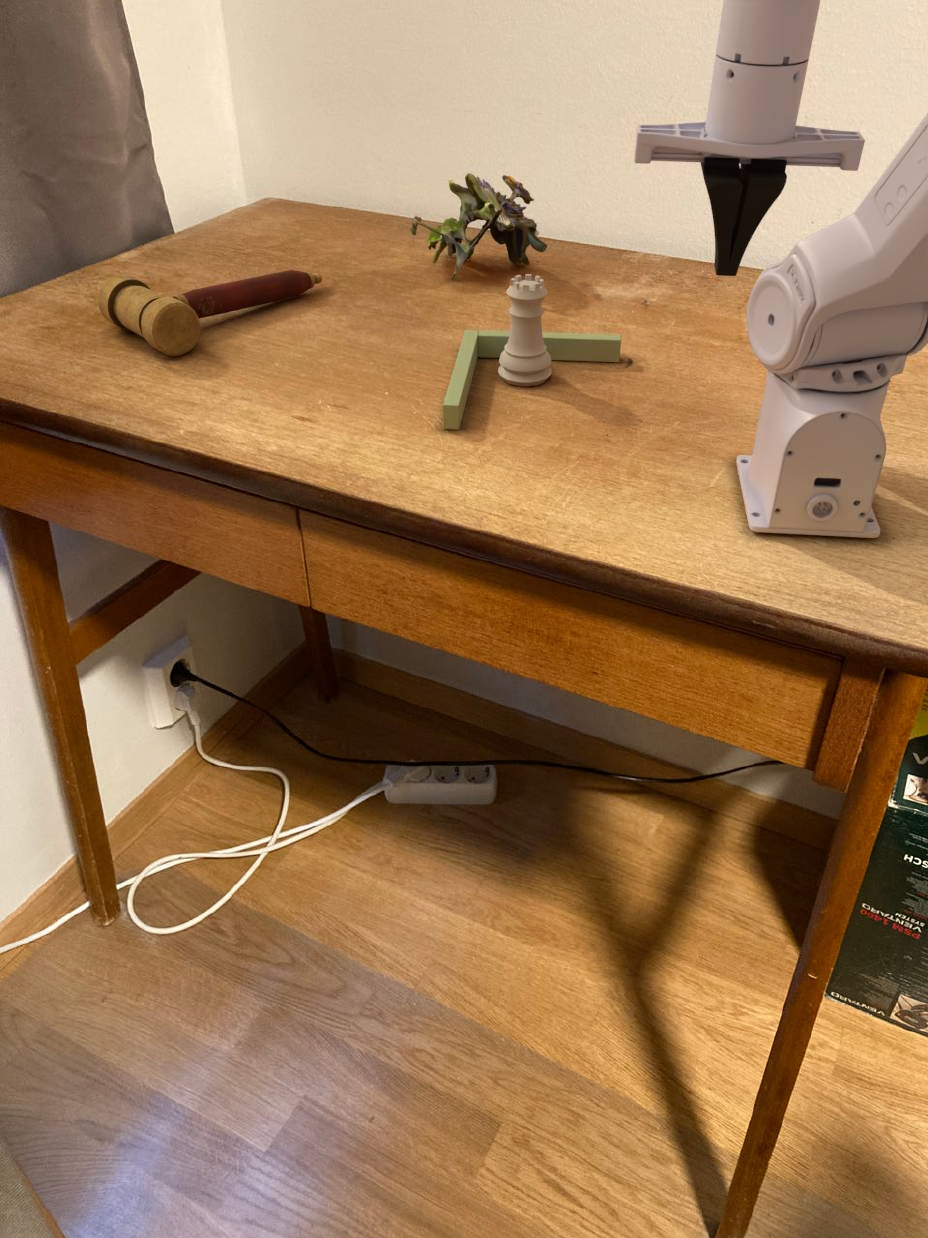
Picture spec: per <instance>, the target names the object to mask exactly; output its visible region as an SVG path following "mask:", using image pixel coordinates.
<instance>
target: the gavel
mask: <svg viewBox="0 0 928 1238" xmlns="http://www.w3.org/2000/svg"><path fill="white" fill-rule="evenodd" d="M322 282H323V276H322V274H321V273H318V272H316V273H311V272H310V271H301V270H296V269H288V270H284V271H279V272H274V273H273V272H272V273H269V274H263V275H259V276H254V277H248V278H245V279H239V280H233V281H229V282H224V283H220V284H215V285H209V286H205V287H200V288H195V289H191V290H189V291H186V292H184V293H181V294H177V295H174V296H163V295H162V294H160V293H157V292H155V291H153V290H151V288H150V287H149V286H148V285H147V284H146V283H145V282H144V281H142V280H139V279H137V278H136V277H134V276H131V275H128V274H124V273H123V274H116V275H113V276H111V277H109V278H108V279H107V280H106V281H105V282H104V283H103V284H102V286H101V287H100V290H99V292H98V298H97V301H98V308H99V311H100V312H101V315H102V317H103V318H104V319H105V320H106V321H107V322H109V323H110V324H112V325H113V326H115V327H117V328H119V329H121V330H124V331H126V332H132V333H135V334H137V335H138V336H140V337H142V338H144V340H145V341H146V343H147V344H148V345H149V346H151V347H152V348H154V349H156V350H157V351H159V352H161V353H163V354H165V355H166V356H169V357H178V356H182V355H185V354H187V353H188V352H190V351H191V350H192V349H193V348H194V346H196V344H197V342H198V340H199V337H200V334H201V322H200V319H204V318H210V317H214V316H219V315H222V314H227V313H231V312H236V311H240V310H245V309H250V308H254V307H259V306H263V305H267V304H272V303H276V302H281V301H285V300H289V299H294V298H295V299H296V298H298V297H300V296H302V295H303V294H305V293H306V292H307V291H309V290H311V289H313V288H314V287H315V286H316V285H319V284H321V283H322Z"/></svg>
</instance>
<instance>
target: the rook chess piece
mask: <svg viewBox="0 0 928 1238" xmlns="http://www.w3.org/2000/svg"><path fill="white" fill-rule="evenodd" d="M532 278H533V274H532V273H525V278H524V279H522V275H521V274H517V275H514V277H511V279H510V285H509V287H508V288H507V289H506V292H505V293H506V295H507V296H508V298H509V299H510V301H511V306H510V308H509V309H508V313H509V314H510V328H509V331H510V334H509V339H508V343H507V344H506V345H505V347H504V349H505V350H504V351H503V352H502V353H501V355H500V358H498V363H499V364H500V366H499V367H498V369H497V373H498V375H499V376H500V377H501V378H502V380H503V381H504V382H506V383H507V384H509V385H513V386H517V387H533V386H538V385H541V384H543V383H545V382H546V381H547V380H548V379H549V378H550V377H551V375H552V373H553V370H552V368H551V367H550V366H551V365H552V360H551V356H550V354H549V353H548V352H547V351H546V348H547V347H546V345H545V344H544V341H543V335H542V332H543V326H542V325H543V324H542V316H543V315H544V314H545V309H544V307H543V306H542V303H543V300H544V299H545V298H546V297H547V295H548V293H549V290H548V289H547V287H546V286H545V285H544V280H545V279H544V278H542V276H540V275H535V276H534V280H533V279H532Z"/></svg>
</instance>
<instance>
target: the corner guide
mask: <svg viewBox="0 0 928 1238" xmlns="http://www.w3.org/2000/svg"><path fill="white" fill-rule="evenodd" d="M509 334H510V330H486V329H480V330H479V329H465V330H464V333H463V336H462V340H461V342H460V346H459V350H458V352H457V355H456V360H455V363H454V366H453V370H452V372H451V377H450V380H449V383H448V386H447V390H446V393H445V396H444V399H443V403H442V421H443V423H442V426H443V430H455V431H456V430H460V427H461V423H462V420H463V415H464V412H465V409H466V404H467V400H468V396H469V393H470V389H471V385H472V381H473V377H474V373H475V370H476V366H477V361H478V358H483V359H485V358H489V359H500V355H501V353H502V352H503V351H504V350H505V349H504V347H505V345H506V344H507V343H508V339H509ZM542 335H543V341H544V344H545V345H546V347H547V348H546V351H547V352H548V353H549V354H550V356H551V361H571V362H572V361H573V362H596V363H597V362H599V363H620V358H621V349H622V348H621V346H622V335H621V334H611V333H610V334H608V333H577V332H576V333H575V332H574V333H573V332H547V331H546V332H545V331H542Z"/></svg>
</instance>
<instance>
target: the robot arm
mask: <svg viewBox="0 0 928 1238" xmlns="http://www.w3.org/2000/svg"><path fill="white" fill-rule="evenodd" d="M820 5H821V0H723V2H722V8H721V14H720V22H719V29H718V35H717V36H718V37H717V41H716V48H715V56H714V63H713V64H714V65H713V70H712V77H711V82H710V90H709V98H708V103H707V112H706V117H705V118H706V119H705V121H697V122H696V121H695V122H683V123H681V122H680V123H668V124H667V123H665V124H637V125H636V133H635V140H634V141H635V142H634V149H633V151H634V152H633V161H634V163H635V164H645V165H646V164H651V163H652V162H678V163H700V167H701V171H702V177H703V181H704V185H705V187H706V191H707V196H708V199H709V202H710V203H709V204H710V209H711V214H712V215H711V216H712V222H713V230H714V231H713V232H714V249H715V250H714V272H715V276H721V277H722V276H723V277H737V275H738V271H739V268H740V265H741V262H742V260H743V257H744V255H745V252H746V251H747V248H748V246H749V244H750V242H751V240H752V239H753V238H752V237H753V236H754V235H755V232H756V230H757V229H758V227H759V225H760V224H761V222H762V221H763V219H764V217H765V216H766V214H767V213H768V212H769V210H770V209H771V207H772V206H773V205H774V203H775V202H776V201H777V200H778V198H779V197H780V195H781V194H782V193H783V190H784V188H785V186H786V183H787V179H788V175H787V173H786V168H787V166H792V167H793V166H794V167H795V166H796V167H819V168H820V167H826V168H839V169H840V170H841V171H847V172H848V171H850V172H858V171H859V168H860V163H861V159H862V155H863V151H864V147H865V143H866V139H865V138H864V136H863V135H862V134H861V132H860V131H852V130H851V131H850V130H839V129H828V128H819V127H813V126H804V125H803V126H802V125H797V121H798V116H799V111H800V106H801V101H802V96H803V91H804V86H805V80H806V76H807V75H806V74H807V71H808V65H809V62H810V61H809V60H810V56H811V50H812V46H813V41H814V35H815V29H816V24H817V20H818V15H819V10H820ZM746 330H747V336H748V340H749V344H750V346H751V349H752V351H753V354H754V355H755V357H756V358H757V360H758V361H759V363H760V364H761V365H762V366H763V368H765V369H766V370H767V373H766V378H765V384H764V389H763V393H762V400H761V404H760V405H761V406H760V409H759V410H760V411H759V416H758V421H757V426H756V432H755V438H754V443H753V448H752V454H739V455H738V456H736V458H735V459H736V460H735V464H736V469H737V473H738V479H739V480H738V481H739V483H740V485H739V486H740V488H741V494H742V499H743V505H744V509H745V514H746V518H747V524H748V528H749V529H750V530H751V532H755V533H768V534H769V533H770V534H786V535H803V536H805V535H806V536H824V537H825V536H826V537H828V536H829V537H843V538H844V537H845V538H864V539H865V538H866V539H876V538H879V537H880V534H881V527H880V525H879V523H878V520H877V518H876V515H875V512H874V510H873V507H872V506H873V502H874V498H875V494H876V491H877V489H878V488H877V487H878V484H879V480H880V478H881V477H880V476H881V473H882V470H883V466H884V463H885V460H886V459H885V458H886V454H887V439H886V433H885V431H884V428H883V427H884V426H883V424H882V418H881V417H882V412H883V408H884V404H885V401H886V397H887V393H888V390H889V386H890V382H891V378H893V377H894V376H898V375H902V374H903V373H904V369H905V365H906V362H907V358H908V357H911V356H912V355H916V354H917V353H919V352H920V351H922V350H923V349H924V348H925V347H926V346H927V345H928V112H927V113H926V114H925V115H924V117H923V118H922V119H921V121H920V123H919V124H918V125H917V127H916V128H915V129H914V130H913V131H912V133H911V134H910V136H909V137H908V138H907V140H906V141H905V142H904V144H903V146H902V147H901V148H900V149H899V151H898V152H897V154H895V156H894V158H893V159H892V160H891V162H890V163H889V164H888V166H887V167H886V168H885V170H884V171H883V173H882V174H881V175H880V177H879V178H878V179H877V180H876V182H875V183H874V185H873V186H872V188H870V190H869V192H868V193H866V196H865V197H864V198H863V200H862V201H861V202H860V204H859V205H858V206H857V208H856V209H855V211H854V212H853V213H851V214H849V215H848V216H846V217H843V218H842V219H839V220H837V221H835V222H834V223H832V224H830V225H827V226H825V227H823V228H821V229H819V230H818V231H816V232H814V233H812V234H810V235H808V236H807V237H805V238H803V239H801V240H799V241H797V242H796V243H795V244H794V246H793V247H792V249H791V250H790V252H789V253H788V255H786V256H785V257H784V258H783V259H782V260H781V261H778V262H774V263H772V264H770V265H768V266H767V267H766V268H765V269H763V270H762V271H761V273H760V274H759V276H758V278H756V281H755V284H754V285H753V287H752V289H751V292H750V294H749V297H748V302H747V309H746Z"/></svg>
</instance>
